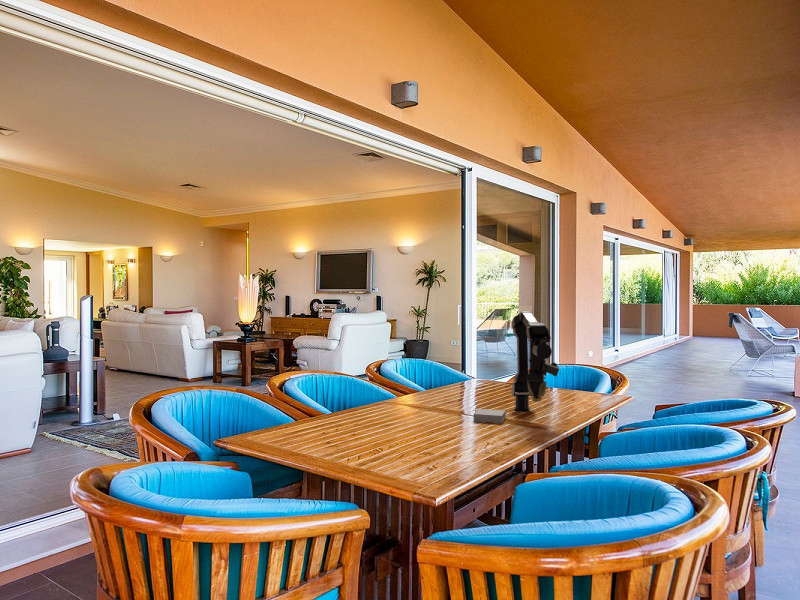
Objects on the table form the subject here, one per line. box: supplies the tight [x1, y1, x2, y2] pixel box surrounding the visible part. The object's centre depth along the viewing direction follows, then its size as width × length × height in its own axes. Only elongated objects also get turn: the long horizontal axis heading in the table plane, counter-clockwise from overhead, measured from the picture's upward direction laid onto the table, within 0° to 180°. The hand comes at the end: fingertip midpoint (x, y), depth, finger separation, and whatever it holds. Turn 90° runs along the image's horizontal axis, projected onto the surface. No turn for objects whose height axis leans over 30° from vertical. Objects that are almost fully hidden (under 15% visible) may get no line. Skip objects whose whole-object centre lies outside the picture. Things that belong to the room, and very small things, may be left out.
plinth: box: [473, 408, 507, 424], centre depth 227 cm, size 11×11×3 cm
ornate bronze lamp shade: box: [527, 380, 548, 403], centre depth 223 cm, size 8×7×8 cm
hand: (536, 396), depth 223 cm, fingers closed on ornate bronze lamp shade, 6 cm apart
